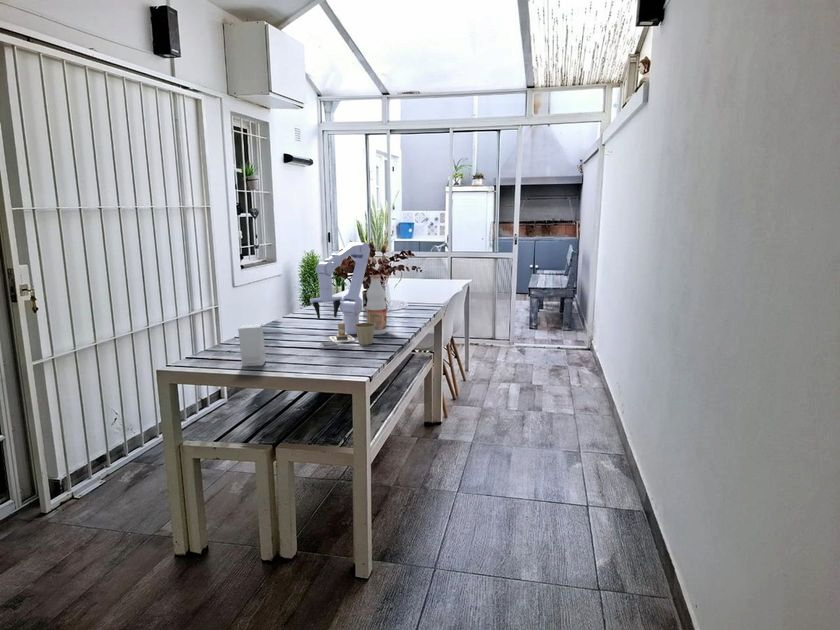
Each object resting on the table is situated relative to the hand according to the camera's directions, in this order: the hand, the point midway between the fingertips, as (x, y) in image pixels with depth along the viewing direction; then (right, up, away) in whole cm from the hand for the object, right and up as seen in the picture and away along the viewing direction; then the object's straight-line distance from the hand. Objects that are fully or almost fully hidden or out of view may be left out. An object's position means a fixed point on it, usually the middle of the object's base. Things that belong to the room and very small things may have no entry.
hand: (327, 317), depth 260 cm
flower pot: (+18, -12, -6) cm, 22 cm away
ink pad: (+3, -13, -10) cm, 16 cm away
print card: (+7, -10, +2) cm, 12 cm away
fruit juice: (+22, -8, +15) cm, 27 cm away
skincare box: (-23, -18, -36) cm, 47 cm away
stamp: (+7, -10, +2) cm, 12 cm away
